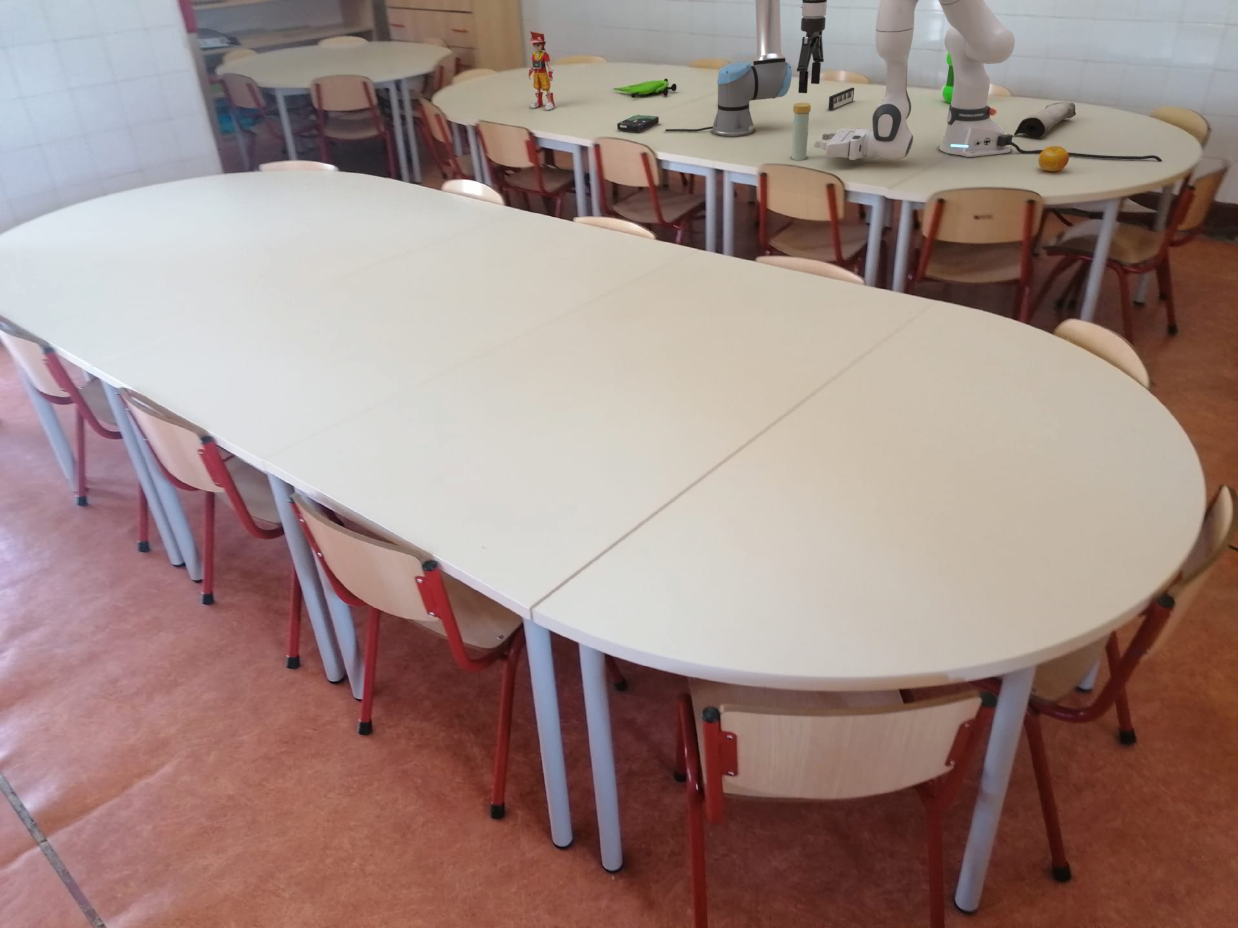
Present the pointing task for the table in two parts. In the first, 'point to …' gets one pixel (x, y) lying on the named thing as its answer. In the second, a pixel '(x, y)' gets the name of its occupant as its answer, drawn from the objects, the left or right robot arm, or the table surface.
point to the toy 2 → (648, 88)
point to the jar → (800, 136)
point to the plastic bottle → (949, 81)
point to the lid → (802, 107)
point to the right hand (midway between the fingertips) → (819, 140)
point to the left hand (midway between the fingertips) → (809, 88)
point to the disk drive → (638, 123)
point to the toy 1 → (541, 71)
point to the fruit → (1053, 158)
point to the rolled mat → (1045, 119)
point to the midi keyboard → (841, 98)
